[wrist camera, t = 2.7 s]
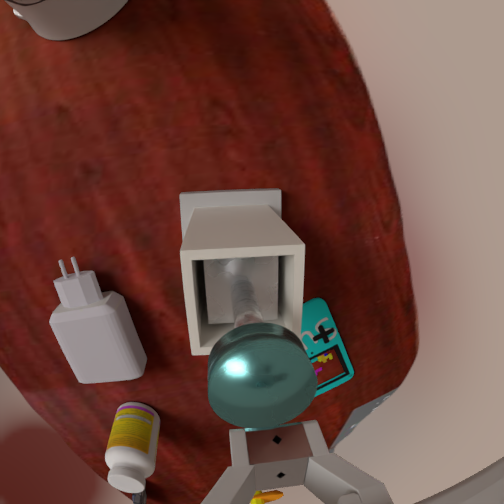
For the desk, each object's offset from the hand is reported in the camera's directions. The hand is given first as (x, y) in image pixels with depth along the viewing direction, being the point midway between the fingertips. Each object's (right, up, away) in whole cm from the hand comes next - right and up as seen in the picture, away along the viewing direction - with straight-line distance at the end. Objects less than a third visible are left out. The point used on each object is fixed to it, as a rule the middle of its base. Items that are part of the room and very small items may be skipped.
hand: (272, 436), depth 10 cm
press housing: (-3, +8, +24) cm, 26 cm away
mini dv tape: (-22, -40, +38) cm, 59 cm away
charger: (-20, -1, +26) cm, 32 cm away
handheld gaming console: (+7, -7, +31) cm, 32 cm away
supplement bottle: (-17, -18, +31) cm, 40 cm away
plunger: (-2, +4, +13) cm, 14 cm away
